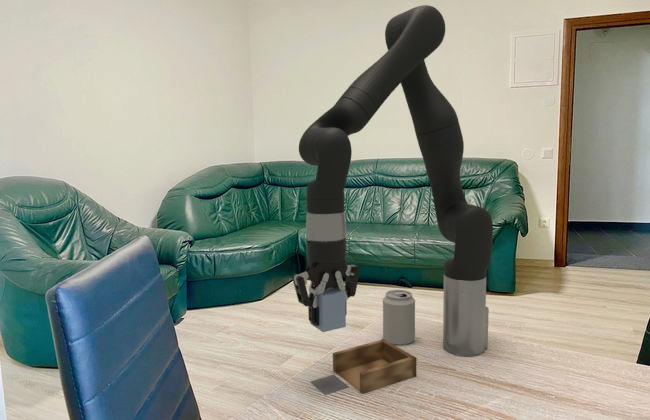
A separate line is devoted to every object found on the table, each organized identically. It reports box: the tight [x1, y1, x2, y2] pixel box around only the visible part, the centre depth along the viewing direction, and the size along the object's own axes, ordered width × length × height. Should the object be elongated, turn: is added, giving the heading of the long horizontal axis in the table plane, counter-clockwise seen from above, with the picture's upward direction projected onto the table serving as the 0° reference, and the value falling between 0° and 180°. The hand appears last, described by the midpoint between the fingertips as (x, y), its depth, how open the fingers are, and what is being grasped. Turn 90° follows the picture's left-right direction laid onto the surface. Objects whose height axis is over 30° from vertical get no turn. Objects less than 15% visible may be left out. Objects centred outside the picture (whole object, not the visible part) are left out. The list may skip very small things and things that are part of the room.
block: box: [309, 287, 347, 333], centre depth 96 cm, size 5×5×7 cm
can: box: [382, 289, 416, 346], centre depth 119 cm, size 8×8×12 cm
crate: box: [332, 338, 417, 395], centre depth 102 cm, size 13×11×4 cm
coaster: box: [310, 374, 350, 396], centre depth 99 cm, size 6×6×1 cm
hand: (327, 321), depth 97 cm, fingers closed on block, 5 cm apart
